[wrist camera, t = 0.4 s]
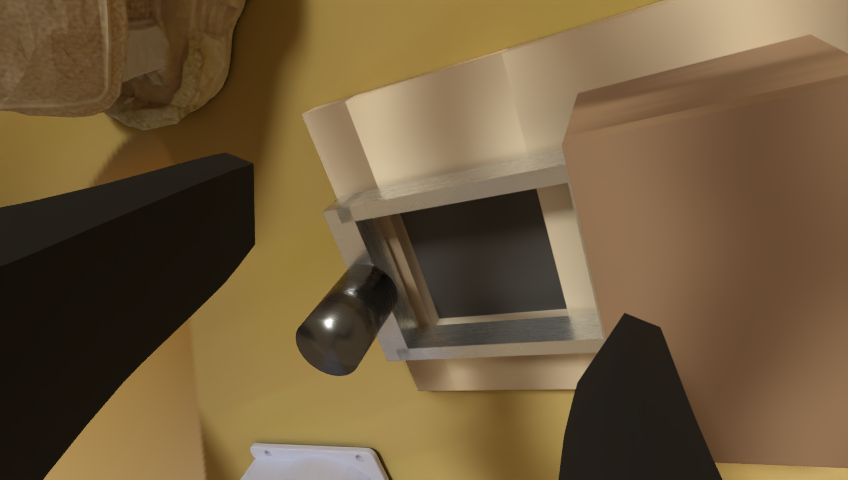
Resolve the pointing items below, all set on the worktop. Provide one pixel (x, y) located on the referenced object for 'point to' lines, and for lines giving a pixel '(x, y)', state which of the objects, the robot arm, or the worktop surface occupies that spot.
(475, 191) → the slider frame
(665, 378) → the robot arm
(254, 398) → the worktop surface
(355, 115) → the tunnel deck
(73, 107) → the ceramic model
